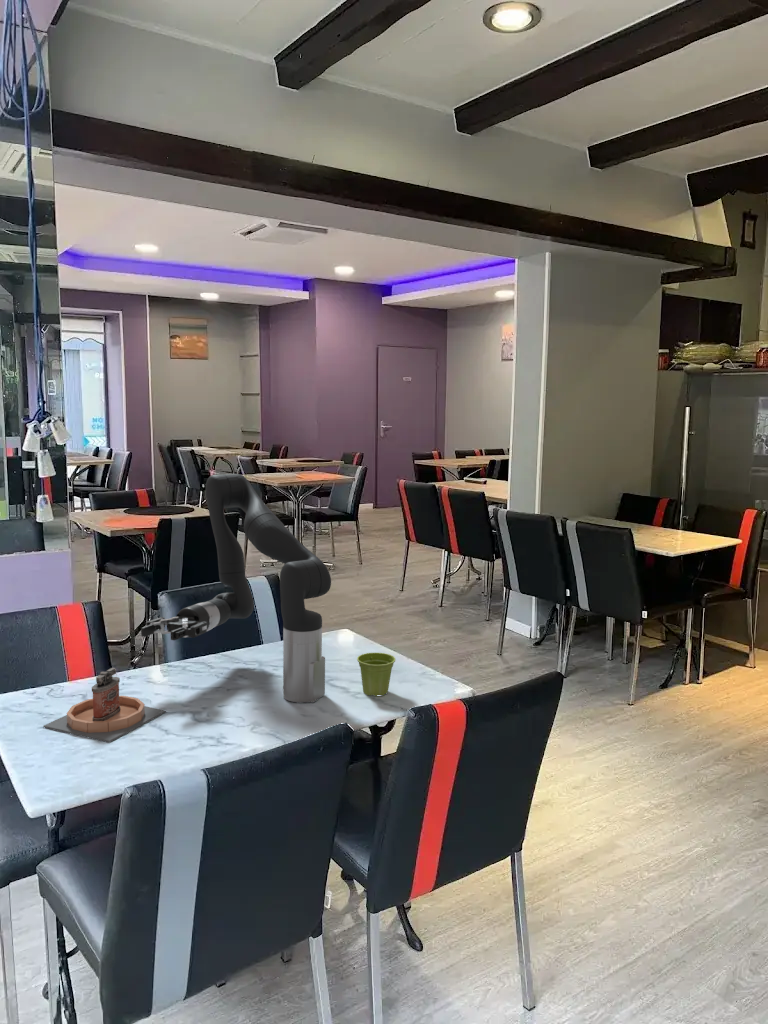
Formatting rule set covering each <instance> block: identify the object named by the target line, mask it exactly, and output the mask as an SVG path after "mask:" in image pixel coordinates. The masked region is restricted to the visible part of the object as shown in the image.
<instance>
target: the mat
mask: <svg viewBox="0 0 768 1024" xmlns="http://www.w3.org/2000/svg"><path fill="white" fill-rule="evenodd" d="M165 713H167V710H165V709H161V708H156V707H151V706H146V705H145V714H144V716H143V718H142V720H141V721H139V722H137V723H135V724H134V725H132V726H130V727H128V728H123V729H119V730H115V731H110V732H92V733H87V732H83V731H78V730H74V729H72V728H71V727H70V726H69V725H68V723H67V714H65V715H63V716H62V717H60V718H57V719H55V720H53V721H51V722H48V723H46V724H44V725H43V728H44V727H45V728H44V729H48V728H50V729H49V730H52V729H54V730H53V731H57V730H58V731H57V732H61V731H62V732H61V733H65V732H66V733H67V734H70V733H71V734H72V735H75V736H80V737H84V738H87V737H89V738H88V739H92V738H93V739H92V740H96V739H97V740H98V741H102V742H105V741H106V742H105V743H109V742H110V743H112V742H113V741H115V740H118V739H119V738H121V737H123V736H124V735H127V734H128V733H130V732H133V731H134V730H135V729H138V728H140V727H141V726H143V725H145V724H147V723H149V722H151V721H153V720H154V719H156V718H158V717H160V716H162V715H164V714H165ZM71 734H70V735H71ZM111 741H112V742H111Z"/></svg>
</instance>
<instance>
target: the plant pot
mask: <svg viewBox="0 0 768 1024" xmlns="http://www.w3.org/2000/svg"><path fill="white" fill-rule="evenodd" d="M356 660H357V662H358V666H359V667H360V674H361V675H360V677H361V684H362V692H363V694H365V695H366V694H367V695H366V696H369V695H370V696H374V695H375V697H378V696H377V695H383V696H385V695H384V694H386V693H387V694H388V692H389V687H390V681H391V674H392V669H393V667H394V664H395V662H396V661H397V660H396V657H395V656H394V655H392V654H389V653H385V652H366V653H362V654H360V655H358V657H357V658H356ZM387 694H386V695H387Z"/></svg>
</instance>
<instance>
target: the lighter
mask: <svg viewBox="0 0 768 1024" xmlns="http://www.w3.org/2000/svg"><path fill="white" fill-rule="evenodd" d="M116 674H117V669H116V668H115V667H110V668H109V669H106V671H100V673H99V675H97V676H96V677H95V681H96V683H95V684H94V685H93V686H92V687H91V693H92V699H93V721H106V720H108V719H110V718H112V717H113V716H115V715H116V714H117V713H119V712H120V706H119V696H120V681H121V680H120V677H119V676H114V675H116Z"/></svg>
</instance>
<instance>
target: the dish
mask: <svg viewBox="0 0 768 1024" xmlns="http://www.w3.org/2000/svg"><path fill="white" fill-rule="evenodd" d="M119 706H120V712H119V713H117V714H116V715H115V716H113V717H112V718H110V719H108V720H106V721H93V698H89V699H85V700H82V701H80V702H78V703H76V704H74V705H72V706H71V707H70V708H69V709H68V711H67V712H66V715H67V723H68V725H69V726H70V727H71V728H72V729H74V730H78V731H83V732H87V733H92V732H110V731H115V730H119V729H123V728H128V727H130V726H132V725H134V724H135V723H137V722H139V721H141V720H142V718H143V716H144V714H145V706H146V705H145V703H144V702H143V701H142V700H140V699H139V698H137V697H132V696H127V695H119Z"/></svg>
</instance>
